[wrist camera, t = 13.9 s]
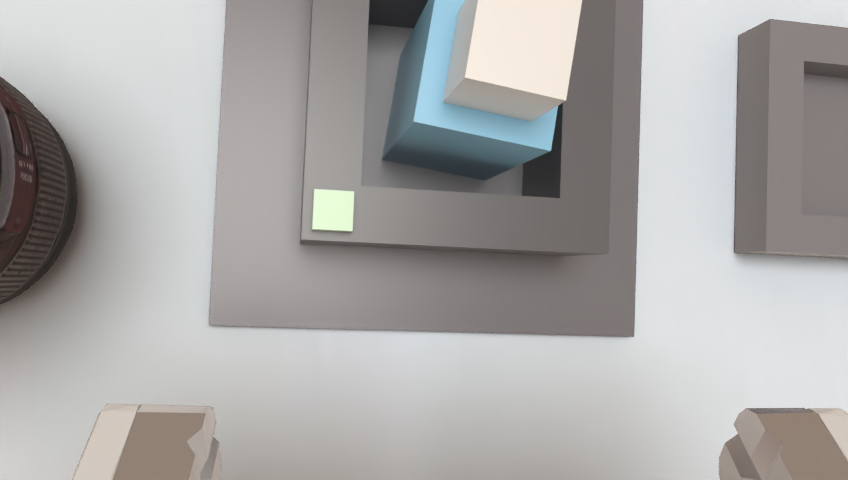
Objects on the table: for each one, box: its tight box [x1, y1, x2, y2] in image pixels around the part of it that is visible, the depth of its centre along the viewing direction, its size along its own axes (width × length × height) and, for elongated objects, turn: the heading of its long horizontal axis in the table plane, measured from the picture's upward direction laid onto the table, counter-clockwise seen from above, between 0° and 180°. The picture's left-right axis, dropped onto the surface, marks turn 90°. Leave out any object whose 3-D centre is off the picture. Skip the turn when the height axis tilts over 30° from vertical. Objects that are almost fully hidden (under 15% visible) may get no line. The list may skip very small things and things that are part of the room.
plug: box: [382, 0, 582, 180], centre depth 22 cm, size 4×4×10 cm
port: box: [209, 0, 643, 337], centre depth 25 cm, size 16×16×5 cm
